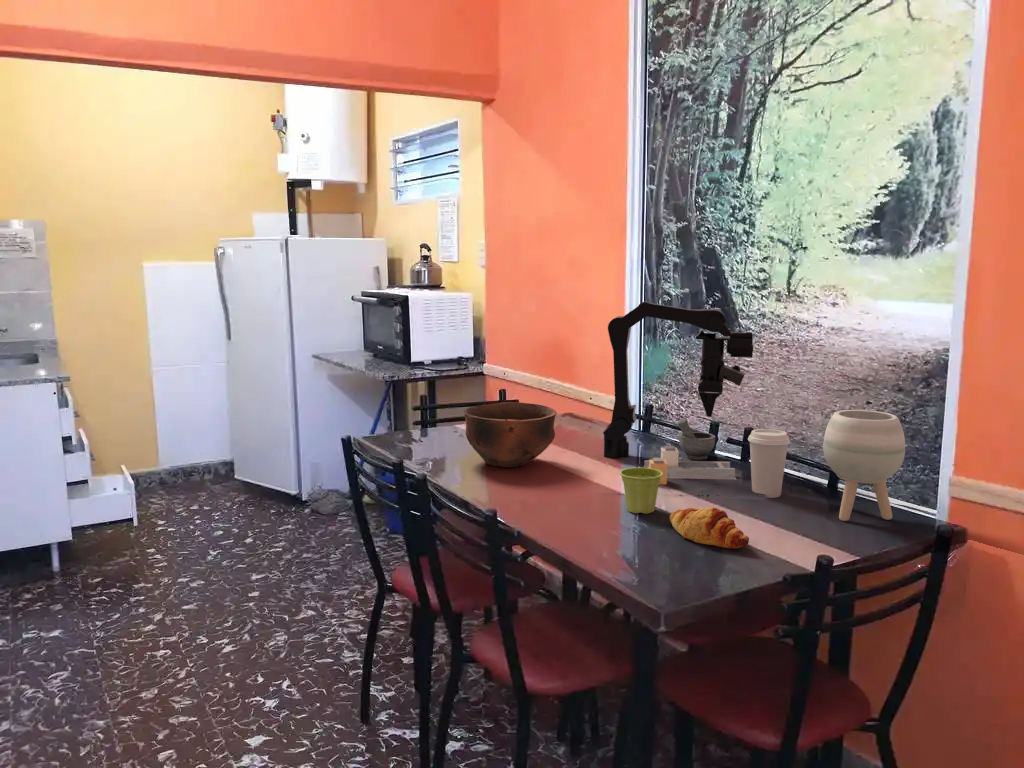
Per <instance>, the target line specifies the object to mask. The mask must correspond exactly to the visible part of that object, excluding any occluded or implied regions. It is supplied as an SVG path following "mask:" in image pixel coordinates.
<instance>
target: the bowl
mask: <svg viewBox="0 0 1024 768" xmlns="http://www.w3.org/2000/svg"><path fill="white" fill-rule="evenodd" d="M462 414H463V415H464V418H465V419H464V420H465V437H466V439H467V441H468V443H469V445H470V446H471V447H472V449H473V450H474V451H475V452H476V453H477V454H478V455H479V457H481V458H482V460H483V461H484V462H485V464H486V465H489V466H493V467H502V468H514V467H519V466H523V465H526V464H528V463H529V462H531V461H533V460H535V459H536V458H537V457H538V456H540V455H541V454H542V453H543V452H544V451H545V450H546V449H547V448H549V446H550V445H551V444H552V442H553V441H554V439H555V435H556V432H555V419H556V417H557V414H558V412H557V411H556V410H555V409H554V408H552V407H549V406H547V405H544V404H537V403H530V402H520V401H519V402H517V401H515V402H513V401H509V402H500V403H499V402H497V403H490V404H489V403H488V404H481V405H475V406H470V407H467V408H465V409H464V411H463V412H462Z"/></svg>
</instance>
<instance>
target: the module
mask: <svg viewBox="0 0 1024 768" xmlns="http://www.w3.org/2000/svg"><path fill="white" fill-rule="evenodd" d="M648 460H649V468H651V469H656V470H659V471H661V472H662V473H663V475H662V476H661V478H660V482H659V485H668V478H667V462H666V460H663V458H661V457H652V459H648Z"/></svg>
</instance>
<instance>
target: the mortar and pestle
mask: <svg viewBox="0 0 1024 768" xmlns="http://www.w3.org/2000/svg"><path fill="white" fill-rule="evenodd" d="M688 422H689V420H688V419H687V418H681V419H679V420H678V421H677V426H679V427H680V430H681V433H679V435H678V440H679V441H678V442H679V446H680V448H681V450H682V452H684V453H685V456H684V457H685V458H687V459H691V460H706V459H708V455H709V454H710V453H711V452H712V451H713V449H714V447H715V444H716V435H714V434H712V433H708V432H703V431H700V432H699V431H693V430H692V429H691V427H690V425H689V423H688Z"/></svg>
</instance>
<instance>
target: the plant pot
mask: <svg viewBox="0 0 1024 768" xmlns="http://www.w3.org/2000/svg"><path fill="white" fill-rule="evenodd" d="M619 475H620V476H621V480H622V483H623V489H624V497H625V506H626V510H627V511H628V512H629V513H633V514H639V513H642V514H647V515H648V514H651V513H654V512H655V509H656V503H657V498H658V497H657V496H658V490H659V485H660V484H659V482H660V478H661V476H662V475H663V473H662V472H661V471H659V470H656V469H651V468H644V467H629V468H623V469H621V470H620V471H619Z"/></svg>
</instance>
